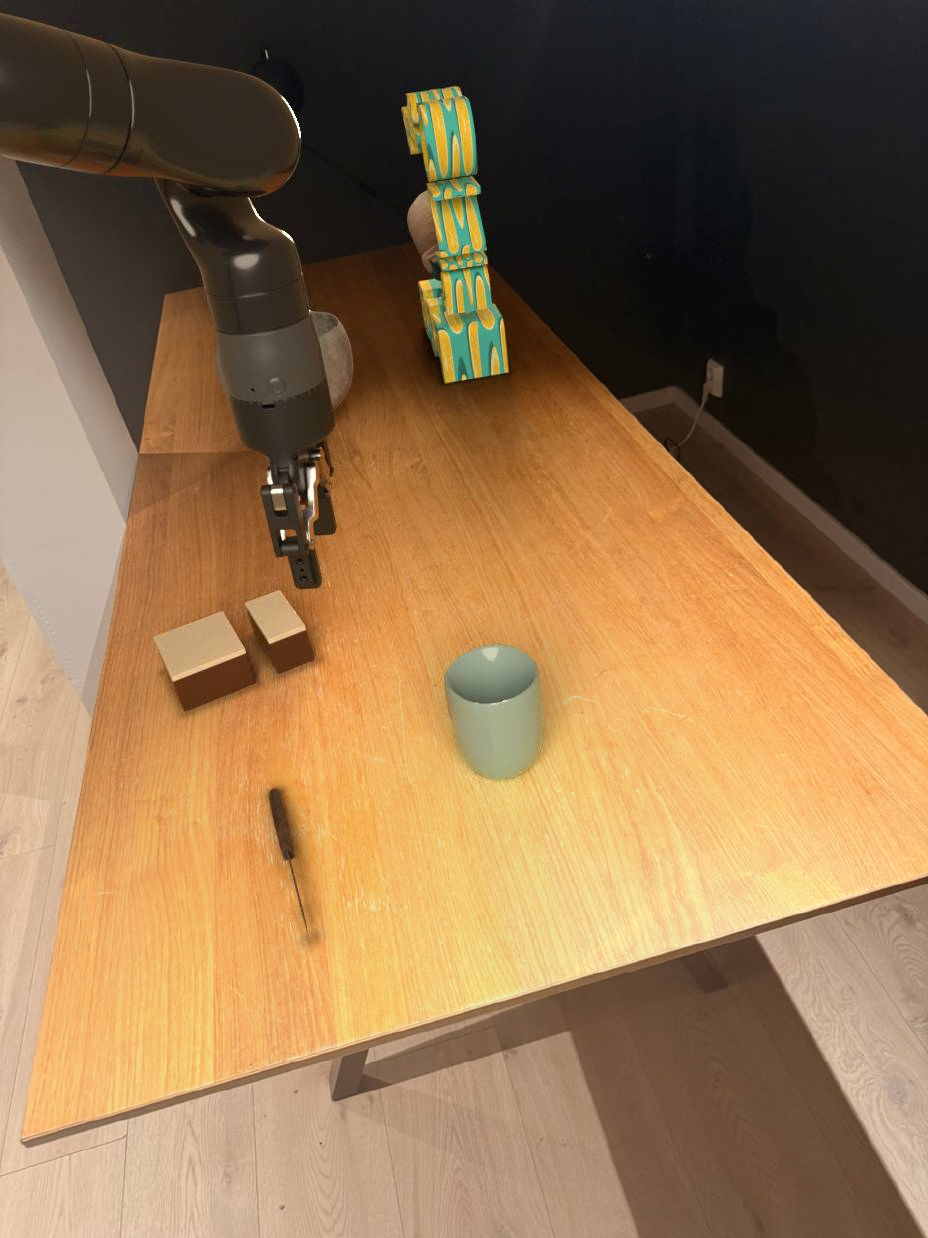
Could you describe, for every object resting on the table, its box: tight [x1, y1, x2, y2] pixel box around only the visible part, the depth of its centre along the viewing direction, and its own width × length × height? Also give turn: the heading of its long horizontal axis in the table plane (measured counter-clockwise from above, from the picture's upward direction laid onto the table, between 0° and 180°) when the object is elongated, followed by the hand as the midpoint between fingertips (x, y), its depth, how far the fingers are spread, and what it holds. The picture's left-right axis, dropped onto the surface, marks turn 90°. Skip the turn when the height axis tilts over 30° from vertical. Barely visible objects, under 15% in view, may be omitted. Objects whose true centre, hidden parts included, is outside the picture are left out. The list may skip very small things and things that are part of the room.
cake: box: [152, 610, 257, 712], centre depth 97 cm, size 8×8×4 cm
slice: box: [244, 589, 315, 675], centre depth 100 cm, size 4×8×4 cm, turn 28°
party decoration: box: [401, 85, 509, 384], centre depth 155 cm, size 31×12×40 cm, turn 9°
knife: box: [268, 788, 308, 933], centre depth 77 cm, size 16×1×2 cm, turn 19°
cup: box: [443, 644, 545, 781], centre depth 81 cm, size 8×8×10 cm
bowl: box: [214, 310, 354, 412], centre depth 145 cm, size 20×20×15 cm
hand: (317, 558), depth 81 cm, fingers open, 8 cm apart
